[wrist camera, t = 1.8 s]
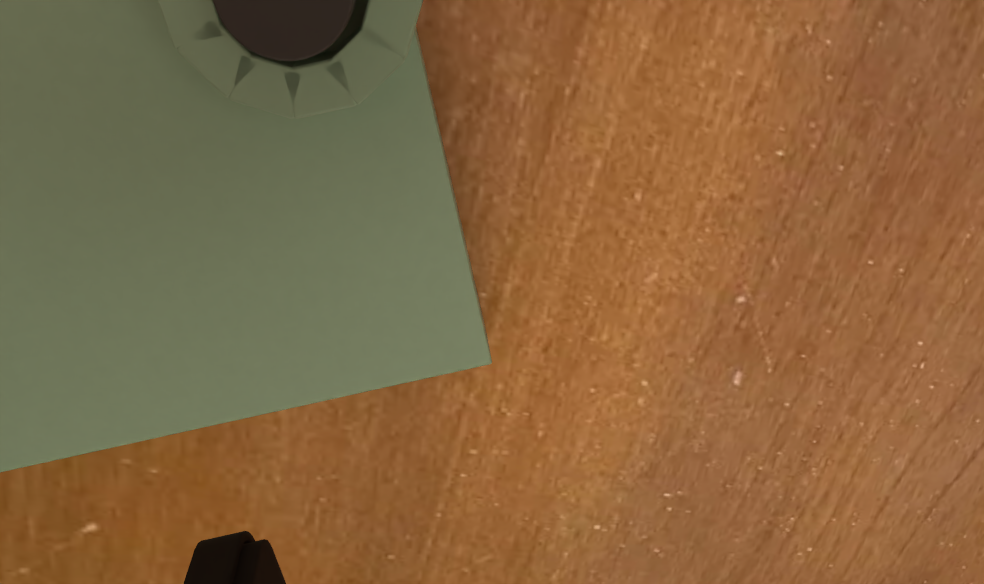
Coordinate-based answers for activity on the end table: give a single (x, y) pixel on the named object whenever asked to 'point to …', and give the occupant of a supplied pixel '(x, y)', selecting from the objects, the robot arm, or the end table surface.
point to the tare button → (285, 25)
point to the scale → (215, 223)
